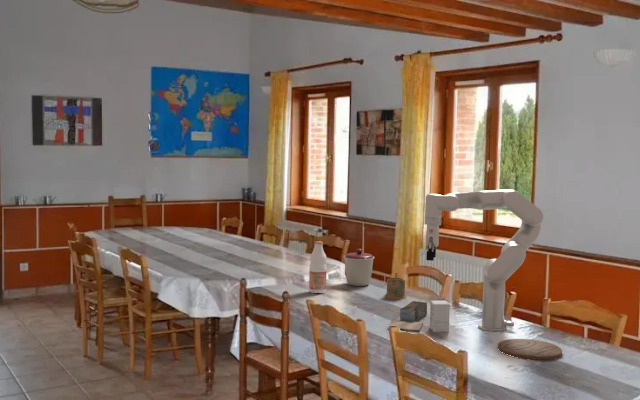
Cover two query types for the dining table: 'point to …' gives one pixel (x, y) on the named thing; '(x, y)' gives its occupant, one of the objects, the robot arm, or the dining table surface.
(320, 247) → the fruit juice
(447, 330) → the supplement box
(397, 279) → the rusty metal bell
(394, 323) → the tan square board
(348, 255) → the canister
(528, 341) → the trivet
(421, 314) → the beverage carton
